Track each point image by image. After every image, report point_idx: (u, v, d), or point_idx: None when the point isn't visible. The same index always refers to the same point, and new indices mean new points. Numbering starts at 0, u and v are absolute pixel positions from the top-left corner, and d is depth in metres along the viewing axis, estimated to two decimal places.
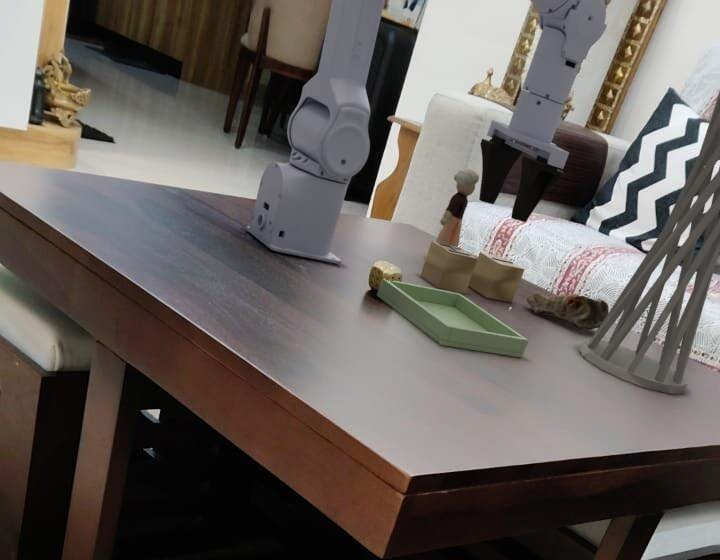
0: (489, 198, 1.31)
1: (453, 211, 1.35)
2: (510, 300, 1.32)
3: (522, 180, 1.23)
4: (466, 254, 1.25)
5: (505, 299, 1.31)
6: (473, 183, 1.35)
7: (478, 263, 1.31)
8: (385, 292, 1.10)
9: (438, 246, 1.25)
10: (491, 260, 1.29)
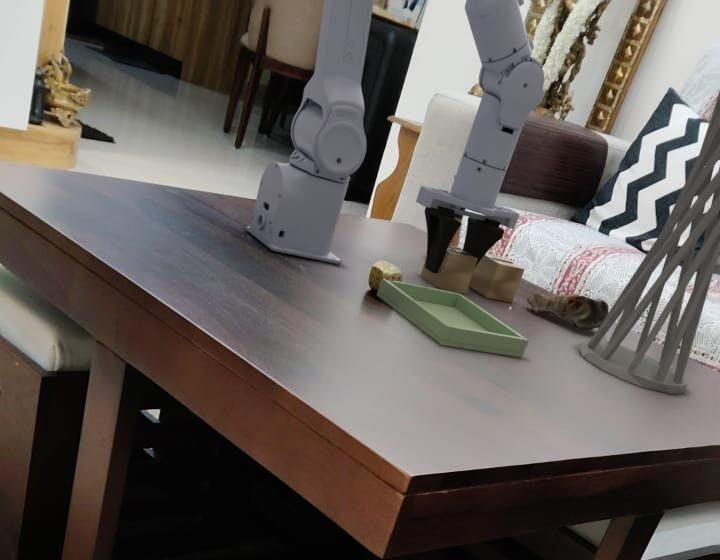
0: None
1: None
2: (510, 300, 1.32)
3: None
4: (466, 254, 1.25)
5: (505, 299, 1.31)
6: None
7: (478, 263, 1.31)
8: (385, 292, 1.10)
9: None
10: (491, 260, 1.29)
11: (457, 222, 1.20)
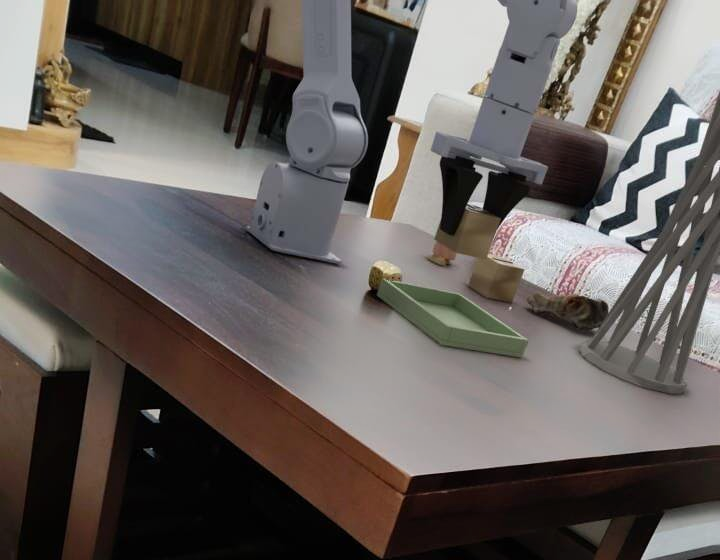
0: None
1: None
2: (510, 300, 1.32)
3: None
4: (488, 213, 1.09)
5: (505, 299, 1.31)
6: None
7: (478, 263, 1.31)
8: (385, 292, 1.10)
9: None
10: (491, 260, 1.29)
11: (478, 174, 1.04)
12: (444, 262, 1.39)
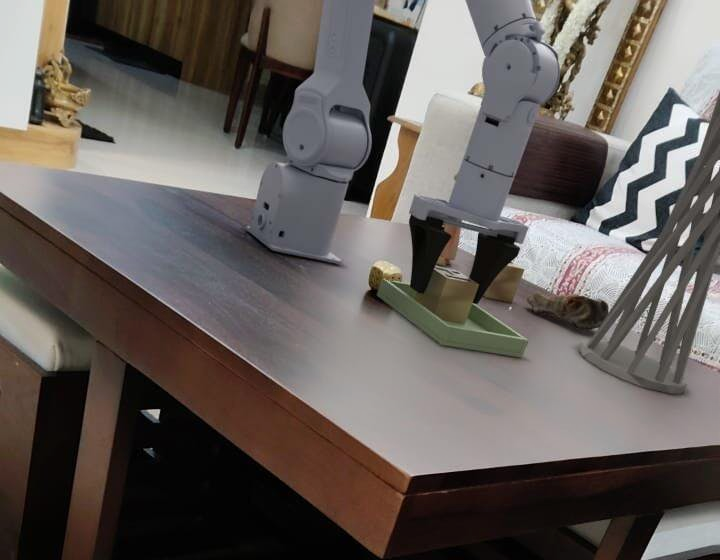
0: None
1: None
2: (510, 300, 1.32)
3: None
4: (466, 279, 1.09)
5: (505, 299, 1.31)
6: None
7: None
8: (385, 292, 1.10)
9: (433, 270, 1.08)
10: None
11: (447, 234, 1.03)
12: (444, 262, 1.39)
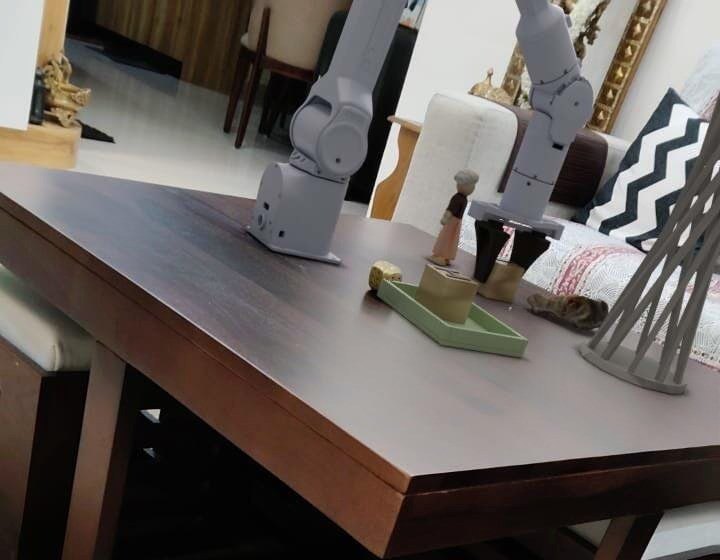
0: None
1: (453, 211, 1.35)
2: (510, 300, 1.32)
3: None
4: (466, 279, 1.09)
5: (505, 299, 1.31)
6: (473, 183, 1.35)
7: None
8: (385, 292, 1.10)
9: (433, 270, 1.08)
10: None
11: (507, 234, 1.25)
12: (444, 262, 1.39)
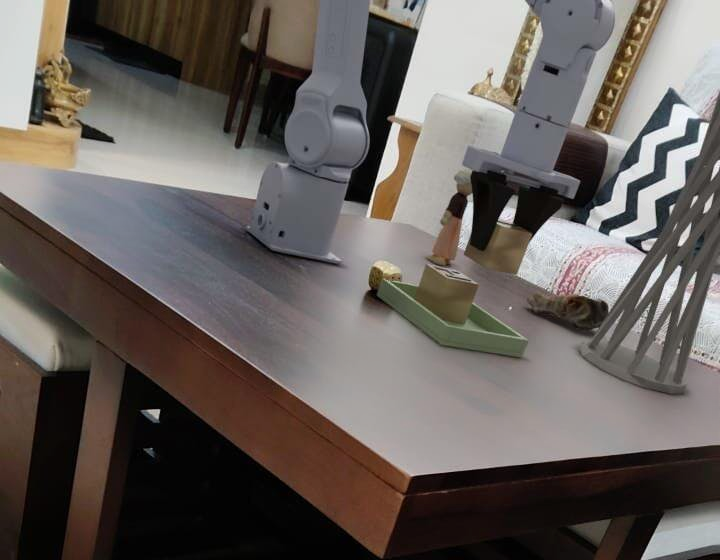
0: None
1: (453, 211, 1.35)
2: (515, 272, 1.09)
3: None
4: (466, 279, 1.09)
5: (509, 270, 1.08)
6: None
7: None
8: (385, 292, 1.10)
9: (433, 270, 1.08)
10: None
11: (510, 189, 1.02)
12: (444, 262, 1.39)
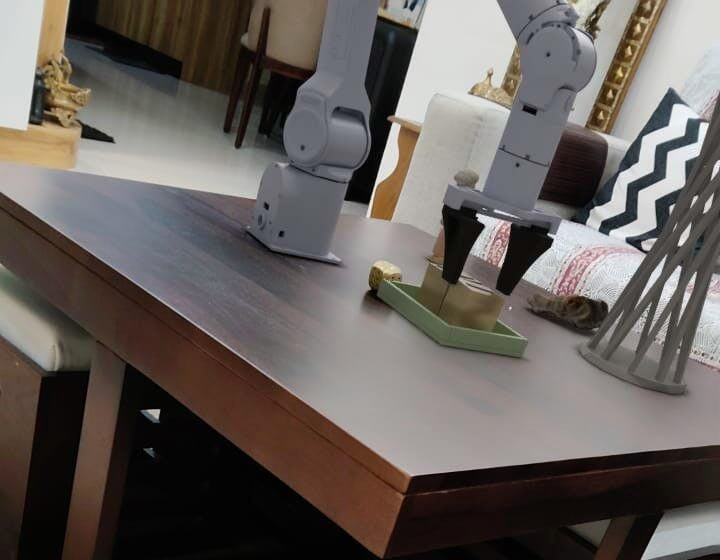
0: (502, 287, 1.11)
1: None
2: None
3: None
4: (469, 278, 1.09)
5: None
6: (473, 183, 1.35)
7: (450, 289, 1.07)
8: (385, 292, 1.10)
9: (437, 268, 1.09)
10: (464, 286, 1.05)
11: (480, 224, 1.01)
12: None
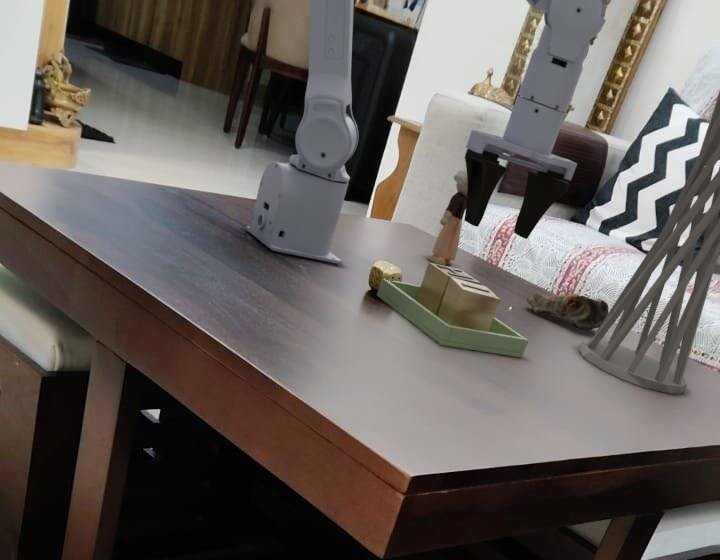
0: (520, 230, 1.18)
1: (453, 211, 1.35)
2: None
3: None
4: (467, 278, 1.10)
5: None
6: None
7: (447, 290, 1.08)
8: (385, 292, 1.10)
9: (436, 268, 1.10)
10: (458, 286, 1.05)
11: (502, 167, 1.08)
12: (444, 262, 1.39)
